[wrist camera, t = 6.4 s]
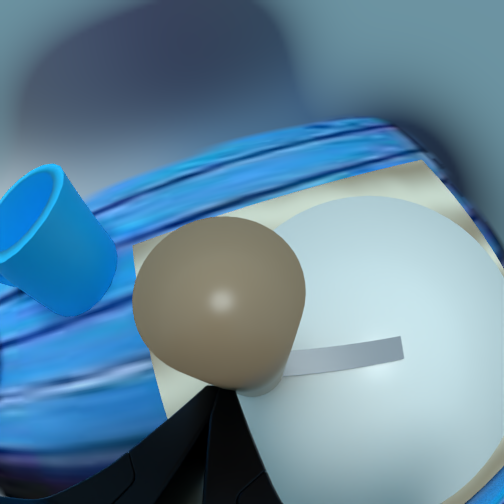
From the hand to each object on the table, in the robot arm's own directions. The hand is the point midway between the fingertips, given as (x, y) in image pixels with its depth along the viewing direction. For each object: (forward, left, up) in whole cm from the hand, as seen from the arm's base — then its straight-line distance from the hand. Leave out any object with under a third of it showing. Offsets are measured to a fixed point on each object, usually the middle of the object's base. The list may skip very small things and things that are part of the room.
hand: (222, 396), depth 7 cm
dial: (-1, -9, -6) cm, 11 cm away
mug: (+13, +12, -9) cm, 20 cm away
